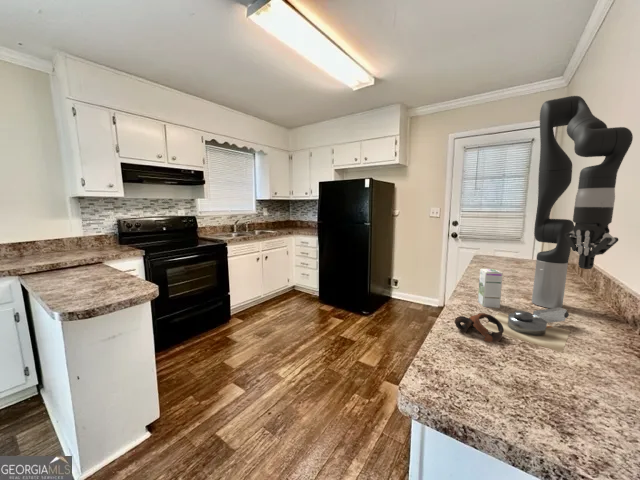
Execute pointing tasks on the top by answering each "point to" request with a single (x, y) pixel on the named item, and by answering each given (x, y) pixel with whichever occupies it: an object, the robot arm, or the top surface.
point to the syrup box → (490, 288)
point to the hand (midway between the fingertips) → (585, 268)
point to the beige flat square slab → (551, 339)
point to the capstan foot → (535, 320)
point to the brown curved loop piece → (480, 326)
